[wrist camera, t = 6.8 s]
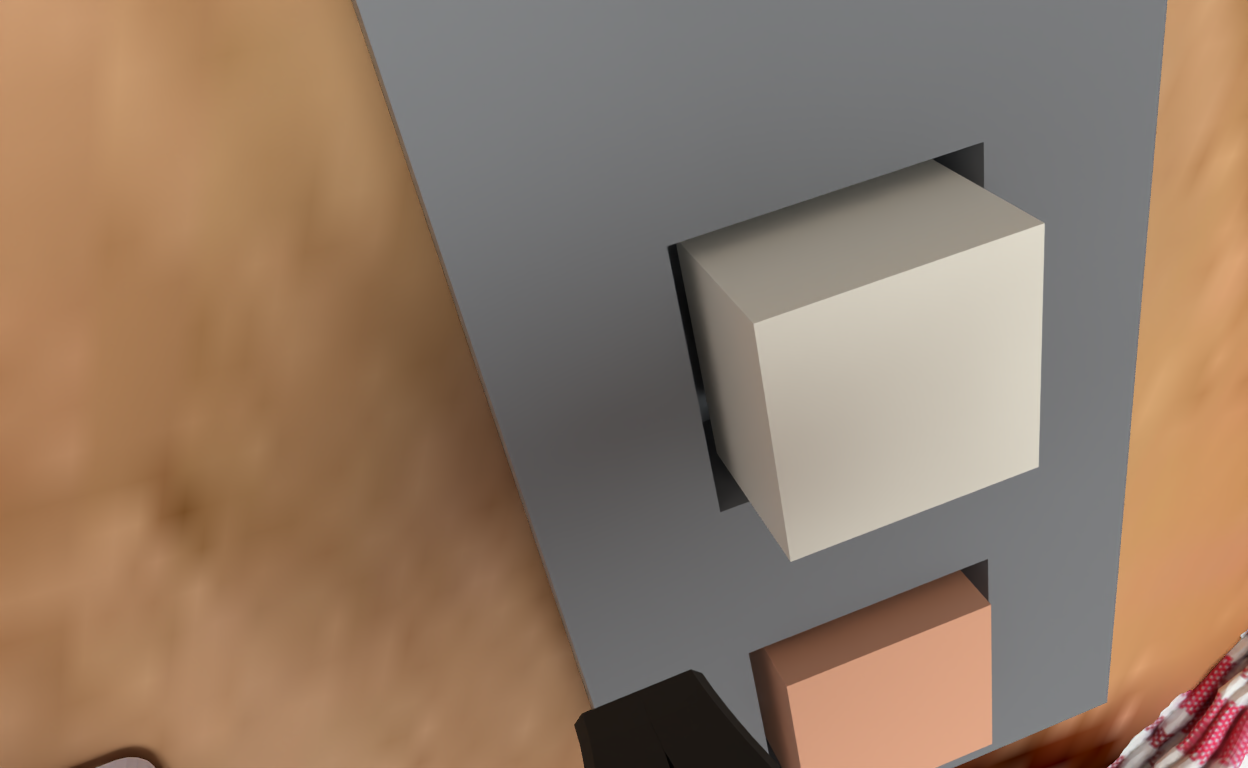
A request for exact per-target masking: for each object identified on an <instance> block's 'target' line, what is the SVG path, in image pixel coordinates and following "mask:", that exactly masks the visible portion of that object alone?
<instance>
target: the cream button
mask: <svg viewBox="0 0 1248 768" xmlns="http://www.w3.org/2000/svg"><path fill="white" fill-rule="evenodd" d="M1044 235H1045V223H1044V222H1042V221H1040V220H1038V219H1037V218H1035V217H1033V216H1031V215H1030V214H1028V213H1026V212H1024V211H1023V210H1021V209H1019V208H1017V207H1016V206H1014V205H1012V204H1010V203H1008V202H1007V201H1005V200H1003V199H1001V198H1000V197H998V196H996V195H994V194H993V193H991V192H989V191H987V190H986V189H984V188H982V187H980V186H979V185H977V184H975V183H973V182H972V181H970V180H968V179H966V178H964V177H963V176H961V175H959V174H957V173H956V172H954V171H952V170H950V169H949V168H947V167H945V166H943V165H942V164H940V163H938V162H936V161H935V160H933V159H930V160H927V161H924V162H921V163H918V164H915V165H912V166H909V167H906V168H903V169H900V170H897V171H894V172H891V173H888V174H885V175H882V176H879V177H876V178H873V179H869V180H866V181H863V182H860V183H857V184H854V185H851V186H848V187H845V188H842V189H839V190H836V191H833V192H830V193H827V194H824V195H821V196H818V197H815V198H812V199H809V200H806V201H803V202H800V203H797V204H794V205H791V206H788V207H785V208H782V209H779V210H776V211H773V212H770V213H767V214H763V215H760V216H757V217H754V218H751V219H748V220H745V221H742V222H739V223H736V224H733V225H730V226H727V227H724V228H721V229H718V230H715V231H712V232H709V233H706V234H703V235H700V236H697V237H694V238H691V239H688V240H685V241H682V242H679V243H676V246H677V251H678V256H679V261H680V267H681V272H682V277H683V282H684V287H685V292H686V297H687V303H688V308H689V313H690V318H691V323H692V328H693V333H694V338H695V344H696V349H697V354H698V359H699V364H700V369H701V374H702V379H703V385H704V390H705V395H706V400H707V405H708V410H709V415H710V421H711V426H712V431H713V436H714V441H715V446H716V451H717V454H718V456H719V457H720V459H721V460H722V461H723V463H724V464H725V466H726V467H727V469H728V470H729V472H730V473H731V475H732V476H733V478H734V479H735V481H736V482H737V484H738V485H739V487H740V488H741V489H742V491H743V492H744V494H745V495H746V497H747V498H748V500H749V501H750V503H751V504H752V506H753V507H754V509H755V510H756V512H757V513H758V514H759V516H760V517H761V519H762V520H763V522H764V523H765V525H766V526H767V528H768V529H769V531H770V532H771V534H772V535H773V537H774V538H775V540H776V541H777V542H778V544H779V545H780V547H781V548H782V550H783V551H784V553H785V554H786V556H787V557H788V559H789V560H790V562H792V561H794V560H797V559H800V558H802V557H805V556H808V555H810V554H813V553H815V552H818V551H821V550H823V549H826V548H828V547H831V546H834V545H836V544H839V543H841V542H844V541H847V540H849V539H852V538H854V537H857V536H860V535H862V534H865V533H868V532H870V531H873V530H875V529H878V528H881V527H883V526H886V525H888V524H891V523H894V522H896V521H899V520H901V519H904V518H907V517H909V516H912V515H915V514H917V513H920V512H922V511H925V510H928V509H930V508H933V507H935V506H938V505H941V504H943V503H946V502H948V501H951V500H954V499H956V498H959V497H962V496H964V495H967V494H969V493H972V492H975V491H977V490H980V489H982V488H985V487H988V486H990V485H993V484H995V483H998V482H1001V481H1003V480H1006V479H1008V478H1011V477H1014V476H1016V475H1019V474H1022V473H1024V472H1027V471H1029V470H1032V469H1035V468H1037V467H1039V434H1040V394H1041V354H1042V314H1043V275H1044Z"/></svg>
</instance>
